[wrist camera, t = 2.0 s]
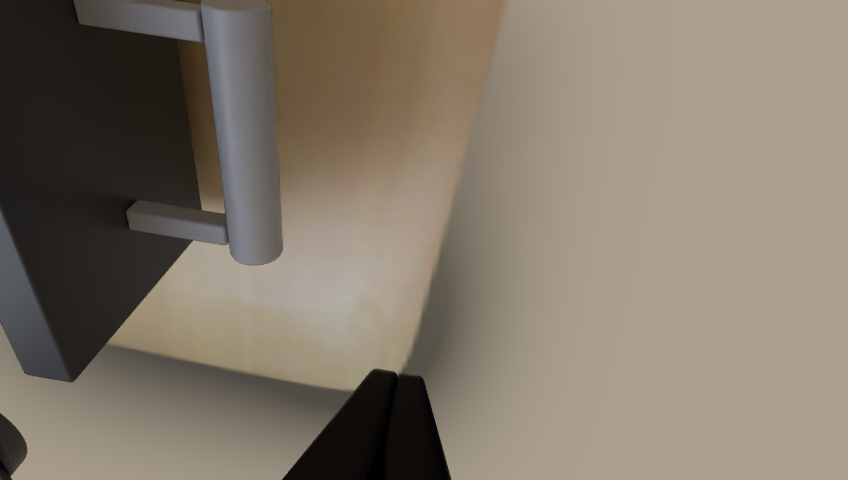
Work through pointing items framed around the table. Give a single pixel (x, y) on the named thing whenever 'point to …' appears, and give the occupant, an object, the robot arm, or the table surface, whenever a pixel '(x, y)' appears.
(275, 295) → the table surface
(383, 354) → the table surface
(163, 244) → the drawer
